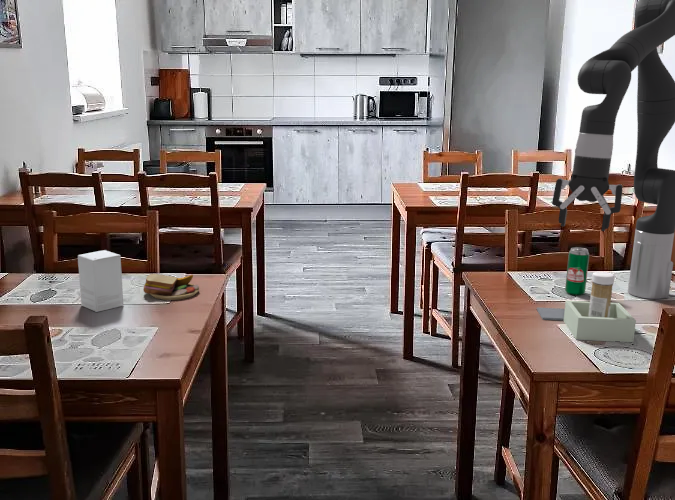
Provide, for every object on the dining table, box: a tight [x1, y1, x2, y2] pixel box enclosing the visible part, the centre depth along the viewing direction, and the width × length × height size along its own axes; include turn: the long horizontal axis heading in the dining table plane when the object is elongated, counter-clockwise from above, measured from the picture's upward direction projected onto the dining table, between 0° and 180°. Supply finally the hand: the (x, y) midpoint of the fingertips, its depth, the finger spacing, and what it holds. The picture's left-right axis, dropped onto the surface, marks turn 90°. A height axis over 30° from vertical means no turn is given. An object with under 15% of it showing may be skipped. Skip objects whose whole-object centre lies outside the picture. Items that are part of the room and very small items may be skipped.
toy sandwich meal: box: [143, 273, 200, 301], centre depth 177 cm, size 12×14×5 cm
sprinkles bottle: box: [589, 271, 615, 318], centre depth 154 cm, size 5×5×13 cm
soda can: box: [564, 246, 590, 296], centre depth 183 cm, size 5×5×12 cm
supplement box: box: [77, 249, 124, 313], centre depth 165 cm, size 7×7×13 cm
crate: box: [563, 300, 637, 343], centre depth 155 cm, size 12×12×5 cm
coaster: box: [536, 307, 565, 322], centre depth 166 cm, size 8×8×1 cm
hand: (582, 228), depth 155 cm, fingers open, 8 cm apart
